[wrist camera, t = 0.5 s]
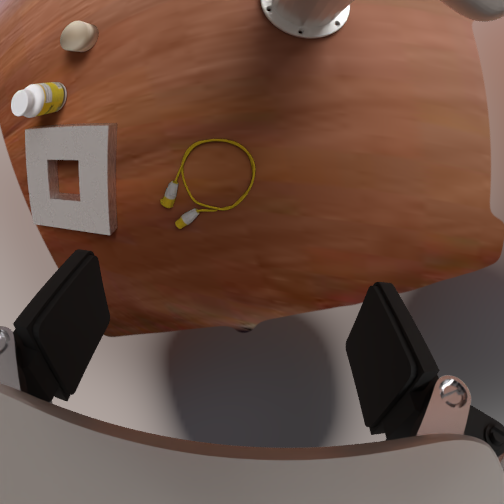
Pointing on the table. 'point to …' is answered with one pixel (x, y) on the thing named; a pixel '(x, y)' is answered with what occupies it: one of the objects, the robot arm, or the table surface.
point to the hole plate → (90, 176)
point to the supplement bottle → (39, 99)
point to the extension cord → (172, 192)
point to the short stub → (79, 36)
